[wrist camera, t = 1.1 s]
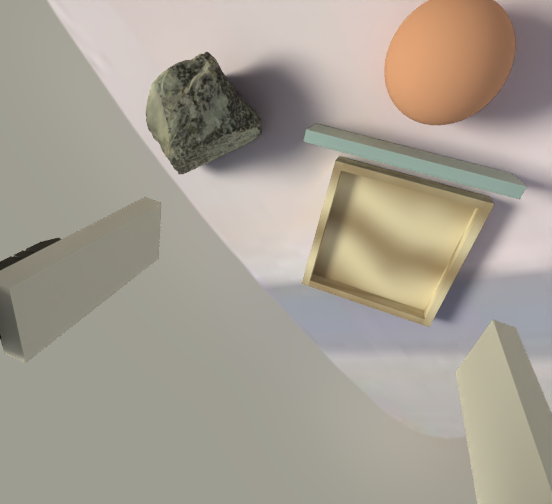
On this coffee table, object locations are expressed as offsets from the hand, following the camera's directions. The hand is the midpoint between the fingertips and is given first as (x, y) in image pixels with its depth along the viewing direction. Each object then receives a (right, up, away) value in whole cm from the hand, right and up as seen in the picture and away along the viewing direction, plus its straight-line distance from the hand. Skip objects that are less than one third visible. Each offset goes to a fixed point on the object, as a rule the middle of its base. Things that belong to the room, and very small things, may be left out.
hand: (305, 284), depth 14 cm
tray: (+10, +2, +21) cm, 24 cm away
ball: (+12, +16, +14) cm, 24 cm away
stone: (-7, +15, +21) cm, 27 cm away
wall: (+10, +10, +17) cm, 23 cm away
